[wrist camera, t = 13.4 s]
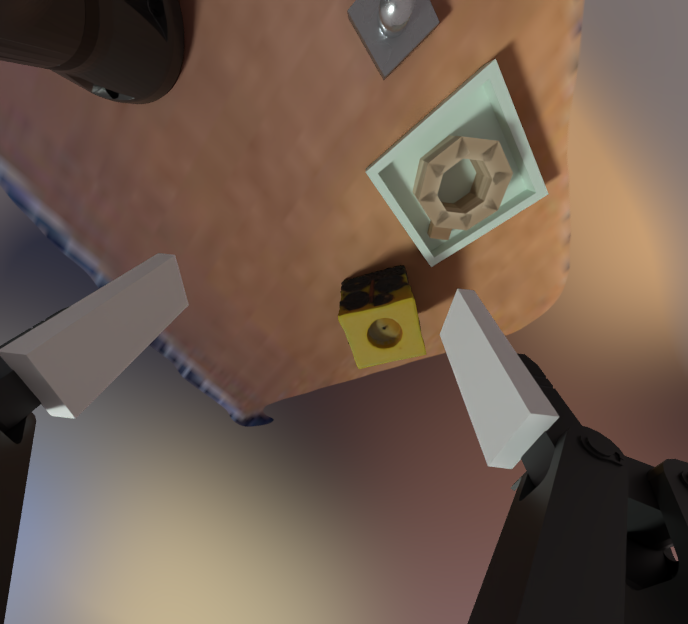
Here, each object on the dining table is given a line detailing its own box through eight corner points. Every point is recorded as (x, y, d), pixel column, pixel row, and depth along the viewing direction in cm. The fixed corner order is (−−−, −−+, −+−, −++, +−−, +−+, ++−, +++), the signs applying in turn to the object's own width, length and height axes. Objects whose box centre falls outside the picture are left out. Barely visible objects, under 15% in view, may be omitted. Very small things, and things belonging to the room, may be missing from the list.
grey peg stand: (348, 18, 26) (344, -8, 21) (401, -45, 24) (410, -90, 19) (383, 80, 29) (387, 70, 24) (434, 28, 26) (451, 5, 21)
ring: (425, 132, 30) (435, 133, 26) (503, 142, 30) (525, 144, 26) (403, 230, 37) (408, 243, 32) (467, 238, 37) (481, 251, 33)
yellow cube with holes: (358, 329, 48) (357, 370, 40) (339, 280, 43) (333, 316, 34) (416, 316, 45) (427, 357, 37) (404, 262, 40) (414, 297, 32)
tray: (365, 168, 33) (365, 172, 31) (483, 65, 28) (495, 58, 25) (427, 258, 40) (431, 267, 37) (534, 189, 34) (548, 194, 31)
